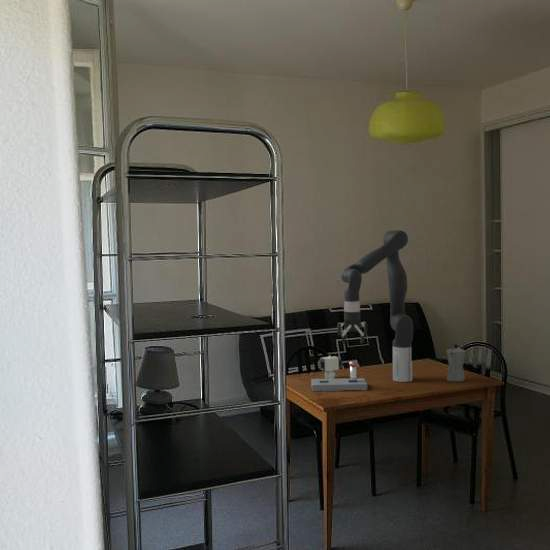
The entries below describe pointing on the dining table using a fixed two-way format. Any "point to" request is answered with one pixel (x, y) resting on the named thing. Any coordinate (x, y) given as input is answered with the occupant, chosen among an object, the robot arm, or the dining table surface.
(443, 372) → the dining table surface
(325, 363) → the pneumatic valve
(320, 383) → the mount board
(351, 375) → the lock pin
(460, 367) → the coffeepot
